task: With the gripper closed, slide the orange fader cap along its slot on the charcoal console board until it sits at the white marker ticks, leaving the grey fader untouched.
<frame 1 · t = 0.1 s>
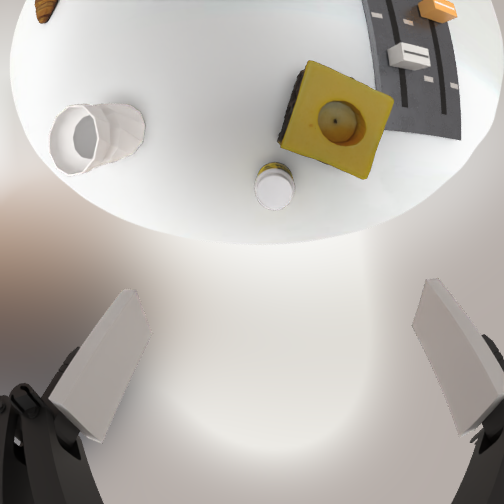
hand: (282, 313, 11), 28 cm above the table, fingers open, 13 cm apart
fader a: (437, 9, 17), point 5 cm above the table, slide at -7.0 cm
vase: (121, 131, 34), on the table
fader b: (408, 57, 22), point 5 cm above the table, slide at 3.0 cm
supplement bottle: (274, 178, 36), on the table
candle: (322, 119, 32), on the table
console: (412, 49, 25), on the table
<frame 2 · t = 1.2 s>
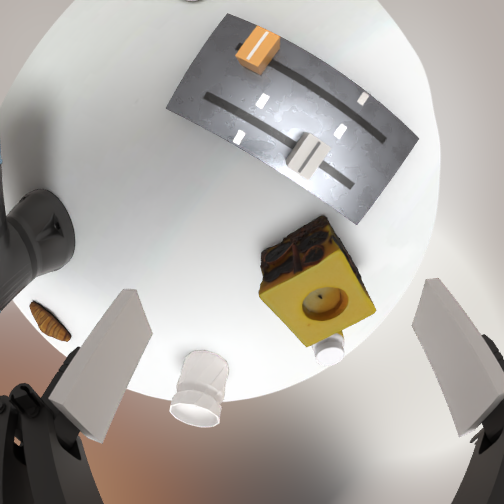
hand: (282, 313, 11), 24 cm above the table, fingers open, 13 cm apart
fader a: (259, 51, 21), point 5 cm above the table, slide at -7.0 cm
vase: (207, 364, 49), on the table
fader b: (306, 154, 26), point 5 cm above the table, slide at 3.0 cm
supplement bottle: (323, 317, 41), on the table
candle: (311, 260, 37), on the table
console: (297, 113, 28), on the table
croissant: (52, 317, 50), on the table
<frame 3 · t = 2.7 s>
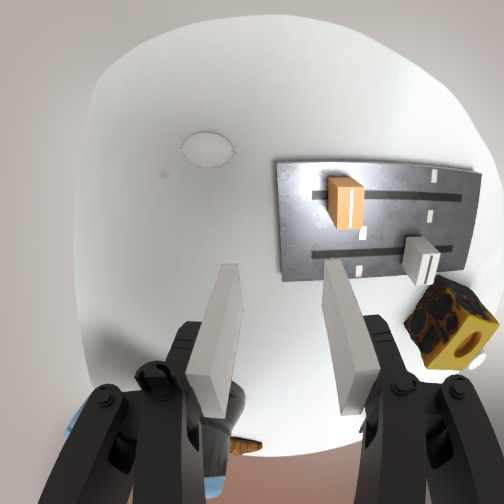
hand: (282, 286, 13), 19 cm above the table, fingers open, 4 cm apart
fader a: (345, 201, 25), point 5 cm above the table, slide at -7.0 cm
fader b: (420, 260, 27), point 5 cm above the table, slide at 3.0 cm
supplement bottle: (458, 330, 38), on the table
candle: (438, 305, 35), on the table
console: (388, 218, 30), on the table
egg: (211, 148, 28), on the table
croissant: (238, 439, 60), on the table
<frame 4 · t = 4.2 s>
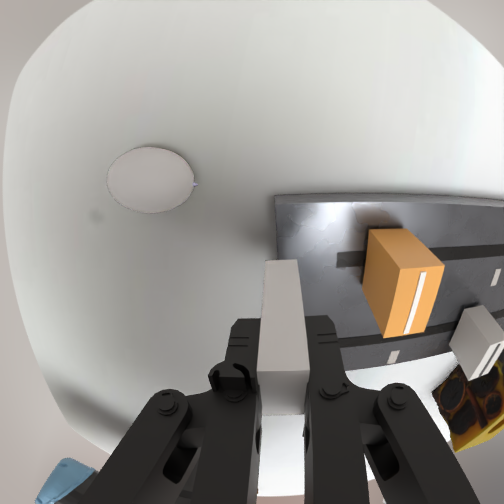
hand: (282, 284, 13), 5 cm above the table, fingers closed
fader a: (398, 279, 13), point 5 cm above the table, slide at -7.0 cm
fader b: (477, 342, 15), point 5 cm above the table, slide at 3.0 cm
candle: (473, 367, 23), on the table
console: (441, 280, 18), on the table
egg: (162, 173, 16), on the table
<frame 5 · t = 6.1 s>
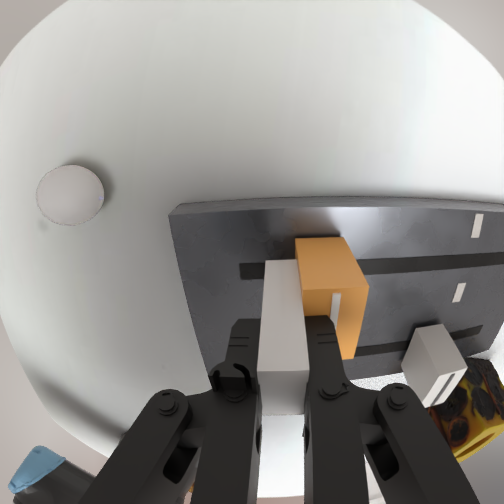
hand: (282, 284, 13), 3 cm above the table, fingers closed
fader a: (324, 297, 12), point 5 cm above the table, slide at -5.7 cm, touching gripper
vase: (371, 465, 36), on the table
fader b: (431, 367, 14), point 5 cm above the table, slide at 3.0 cm
candle: (445, 383, 23), on the table
console: (389, 294, 17), on the table
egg: (86, 186, 16), on the table
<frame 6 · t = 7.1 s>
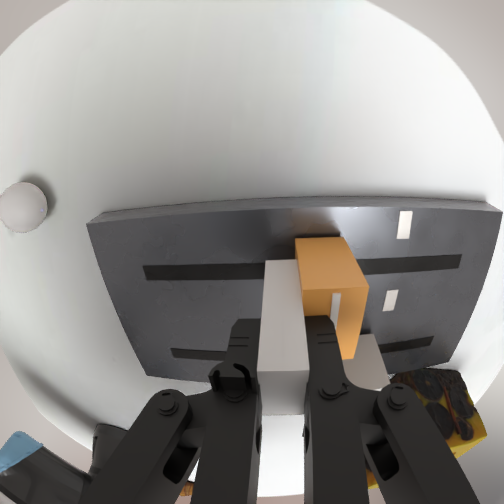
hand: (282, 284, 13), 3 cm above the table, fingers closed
fader a: (324, 297, 12), point 5 cm above the table, slide at 0.1 cm, touching gripper
fader b: (357, 380, 15), point 5 cm above the table, slide at 3.0 cm
candle: (406, 393, 23), on the table
console: (309, 299, 18), on the table
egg: (38, 198, 16), on the table
croissant: (185, 480, 48), on the table
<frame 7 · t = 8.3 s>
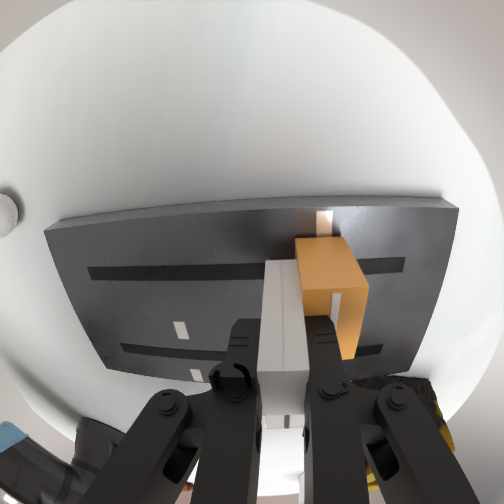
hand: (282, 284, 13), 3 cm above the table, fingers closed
fader a: (324, 297, 12), point 5 cm above the table, slide at 4.7 cm, touching gripper
vase: (321, 472, 37), on the table
fader b: (287, 386, 15), point 5 cm above the table, slide at 3.0 cm
candle: (371, 400, 24), on the table
console: (241, 301, 18), on the table
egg: (12, 207, 17), on the table
croissant: (169, 477, 48), on the table
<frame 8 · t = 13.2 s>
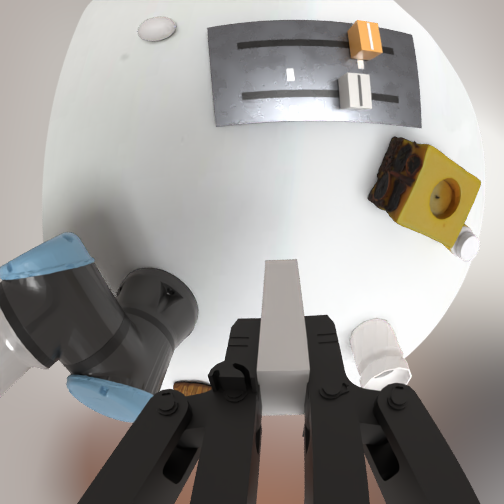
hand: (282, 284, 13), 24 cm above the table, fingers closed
fader a: (364, 40, 22), point 5 cm above the table, slide at 5.0 cm
vase: (371, 334, 46), on the table
fader b: (354, 92, 25), point 5 cm above the table, slide at 3.0 cm
supplement bottle: (442, 225, 35), on the table
candle: (406, 180, 33), on the table
console: (319, 70, 28), on the table
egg: (162, 32, 26), on the table
croissant: (201, 386, 58), on the table
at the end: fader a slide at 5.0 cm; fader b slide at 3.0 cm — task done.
